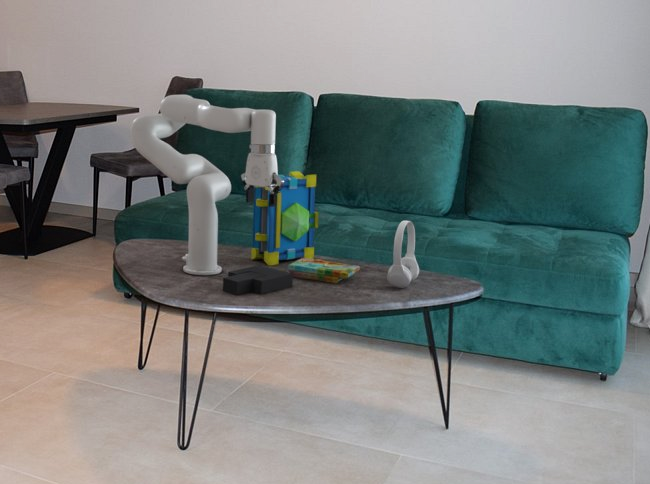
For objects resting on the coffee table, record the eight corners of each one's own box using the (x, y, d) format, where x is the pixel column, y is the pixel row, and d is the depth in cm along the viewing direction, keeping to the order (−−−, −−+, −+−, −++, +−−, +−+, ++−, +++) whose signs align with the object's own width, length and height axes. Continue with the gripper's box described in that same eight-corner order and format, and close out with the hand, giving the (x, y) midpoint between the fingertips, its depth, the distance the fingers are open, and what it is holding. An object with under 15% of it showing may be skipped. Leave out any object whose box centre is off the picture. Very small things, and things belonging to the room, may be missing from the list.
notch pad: (227, 284, 252) (228, 271, 251) (259, 277, 261) (259, 264, 261) (261, 294, 241) (261, 280, 241) (292, 286, 251) (293, 273, 250)
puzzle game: (301, 255, 271) (359, 263, 262) (300, 269, 272) (359, 278, 262) (287, 262, 261) (348, 271, 252) (287, 277, 262) (347, 286, 252)
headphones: (383, 289, 249) (386, 224, 247) (398, 276, 265) (401, 215, 263) (407, 293, 245) (409, 227, 244) (421, 279, 261) (423, 217, 260)
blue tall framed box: (320, 260, 286) (322, 175, 283) (267, 267, 274) (270, 178, 271) (294, 251, 298) (296, 170, 295) (242, 258, 286) (244, 173, 283)
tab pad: (237, 295, 240) (237, 281, 240) (222, 290, 244) (223, 277, 244) (265, 288, 248) (265, 275, 247) (250, 284, 252) (251, 271, 252)
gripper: (234, 147, 257) (233, 201, 259) (275, 152, 244) (273, 209, 246) (251, 146, 262) (249, 199, 264) (291, 151, 249) (290, 206, 251)
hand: (261, 204), depth 255 cm, fingers open, 9 cm apart
